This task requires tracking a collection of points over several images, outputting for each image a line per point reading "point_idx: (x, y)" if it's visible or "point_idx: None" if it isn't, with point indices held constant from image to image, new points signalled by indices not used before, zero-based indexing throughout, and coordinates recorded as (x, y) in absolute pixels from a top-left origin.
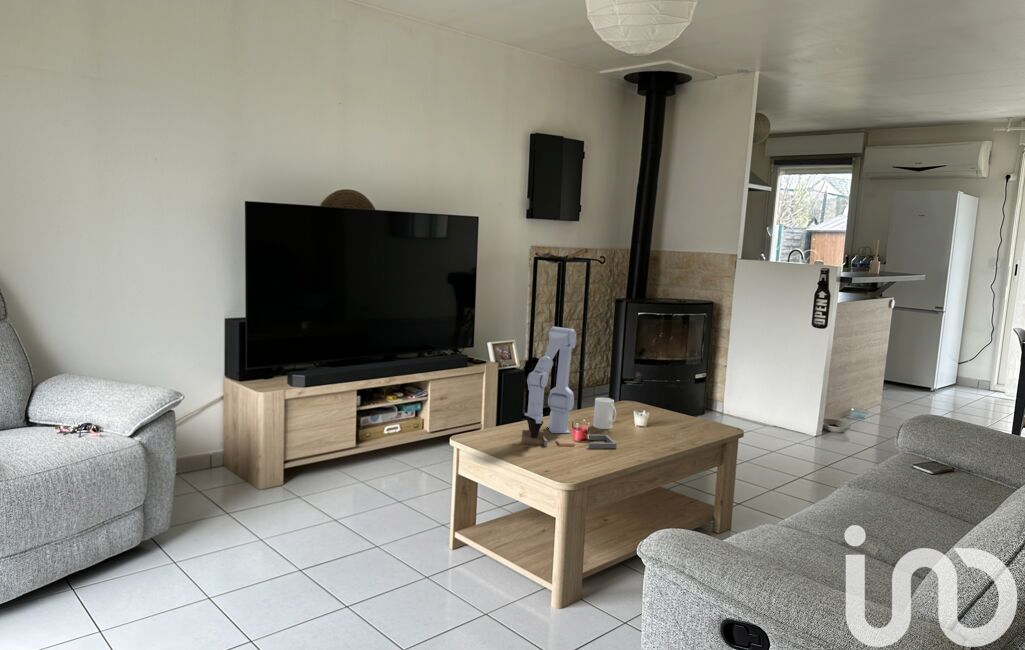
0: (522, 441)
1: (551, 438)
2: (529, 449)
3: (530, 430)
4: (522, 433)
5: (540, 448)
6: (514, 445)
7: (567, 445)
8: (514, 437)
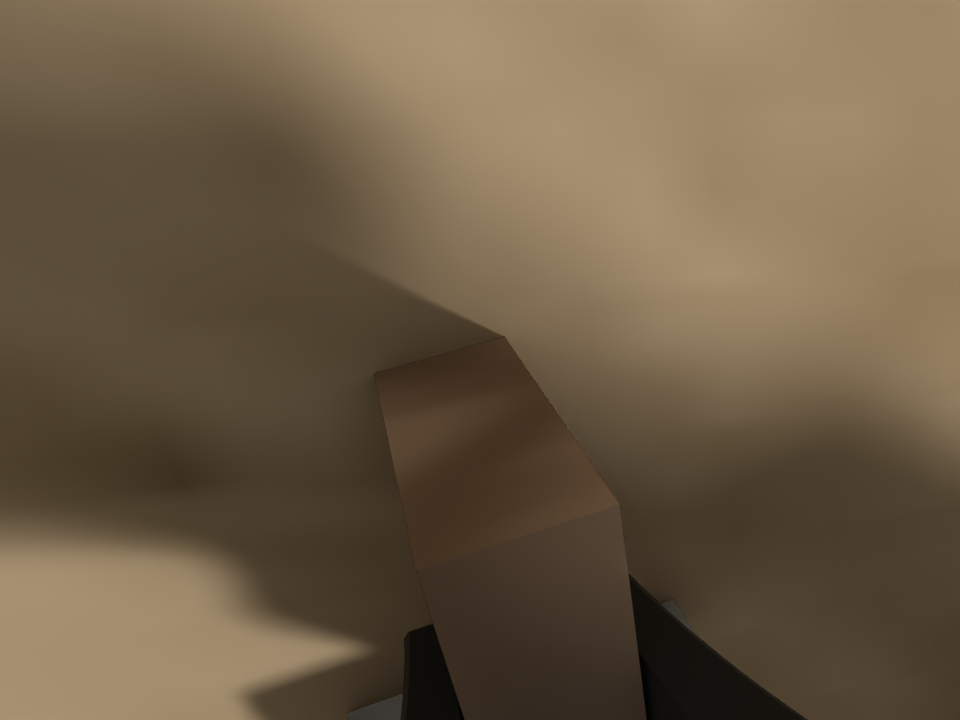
0: (430, 381)
1: (782, 699)
2: (29, 541)
3: (616, 691)
4: (543, 460)
5: (208, 686)
6: (209, 194)
7: None
8: (842, 160)
